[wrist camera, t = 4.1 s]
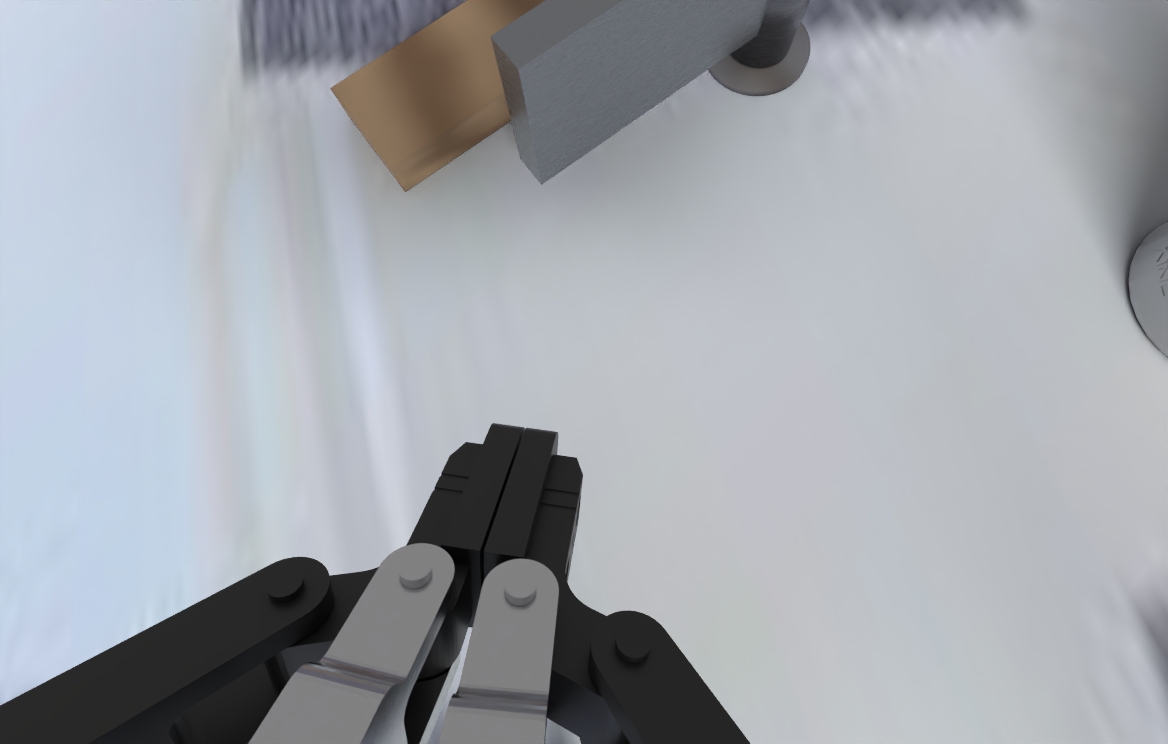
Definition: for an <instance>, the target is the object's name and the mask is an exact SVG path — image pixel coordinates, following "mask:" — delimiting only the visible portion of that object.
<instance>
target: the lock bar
mask: <svg viewBox="0 0 1168 744" xmlns="http://www.w3.org/2000/svg"><path fill="white" fill-rule="evenodd" d="M809 1H810V0H545V1H544V2H542V3H541V4H539V5H538V6H536V7H534V8H533V9H531V10H530V11H528V12H527V13H525V14H524V15H522V16H521V17H519V18H518V19H516V20H515V21H513V22H512V23H510V24H508V25H507V26H505V27H504V28H502V29H501V30H499V31H498V32H496V33H495V34H493V35H492V36H490V37H491V41H492V45H493V49H494V53H495V57H496V61H497V65H498V69H499V73H500V77H501V81H502V85H503V90H504V94H505V98H506V102H507V106H508V110H509V114H510V118H511V122H512V126H513V130H514V134H515V138H516V142H517V146H518V150H519V154H520V158H521V160H522V161H523V162H524V164H525V165H526V166H527V167H528V169H529V170H530V171H531V172H532V173H533V175H534V176H535V177H536V178H537V180H538V181H539V182H540V183H541V184H543V183H544V182H546V181H547V180H549V179H550V178H552V177H553V176H555V175H556V174H557V173H559V172H560V171H562V170H563V169H565V168H566V167H568V166H569V165H570V164H572V163H573V162H575V161H576V160H578V159H579V158H581V157H582V156H583V155H585V154H586V153H588V152H589V151H591V150H592V149H594V148H595V147H596V146H598V145H599V144H601V143H602V142H604V141H605V140H607V139H608V138H610V137H611V136H612V135H614V134H615V133H617V132H618V131H620V130H621V129H623V128H624V127H625V126H627V125H628V124H630V123H631V122H633V121H634V120H636V119H637V118H638V117H640V116H641V115H643V114H644V113H646V112H647V111H649V110H650V109H651V108H653V107H654V106H656V105H657V104H659V103H660V102H662V101H663V100H664V99H666V98H667V97H669V96H670V95H672V94H673V93H675V92H676V91H677V90H679V89H680V88H682V87H683V86H685V85H686V84H688V83H689V82H690V81H692V80H693V79H695V78H696V77H698V76H699V75H701V74H702V73H703V72H705V71H706V70H708V69H709V68H711V67H712V66H714V65H715V64H717V63H718V62H719V61H721V60H722V59H724V58H725V57H727V56H728V55H730V54H731V56H732V57H733V58H734V59H735V60H736V61H737V62H739V63H740V64H742V65H744V66H747V67H750V68H755V69H763V68H769V67H772V66H774V65H776V64H778V63H780V62H781V61H782V60H783V59H784V58H785V57H786V55H787V54H788V52H789V49H790V47H791V44H792V42H793V40H794V37H795V35H796V32H797V30H798V27H799V25H800V22H801V20H802V18H803V15H804V13H805V10H806V8H807V5H808V3H809Z"/></svg>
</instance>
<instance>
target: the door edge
mask: <svg viewBox="0 0 1168 744" xmlns="http://www.w3.org/2000/svg"><path fill="white" fill-rule="evenodd" d="M544 1H545V0H467V1H465V2H464V3H462V4H461V5H459V6H458V7H456V8H455V9H453V10H451V11H450V12H448V13H447V14H445V15H444V16H442V17H441V18H439V19H437V20H436V21H434V22H433V23H431V24H430V25H428V26H427V27H425V28H423V29H422V30H420V31H419V32H417V33H416V34H414V35H413V36H411V37H409V38H408V39H406V40H405V41H403V42H402V43H400V44H399V45H397V46H395V47H394V48H392V49H391V50H389V51H388V52H386V53H385V54H383V55H381V56H380V57H378V58H377V59H375V60H374V61H372V62H371V63H369V64H367V65H366V66H364V67H363V68H361V69H360V70H358V71H357V72H355V73H353V74H352V75H350V76H349V77H347V78H346V79H344V80H343V81H341V82H339V83H338V84H336V85H335V86H333V87H332V88H330V89H331V90H332V92H333V93H334V95H335V96H336V98H337V99H338V101H339V102H340V104H341V105H342V107H343V108H344V110H345V111H346V113H347V114H348V116H349V117H350V119H351V120H352V121H353V123H354V124H355V125H356V127H357V128H358V129H359V131H360V132H361V133H362V135H363V136H364V137H365V139H366V140H367V141H368V143H369V144H370V145H371V147H372V148H373V149H374V151H375V152H376V153H377V155H378V156H379V157H380V159H381V160H382V161H383V163H384V164H385V165H386V167H387V168H388V169H389V171H390V172H391V173H392V175H393V176H394V177H395V179H396V180H397V181H398V183H399V184H400V185H401V187H402V188H403V189H404V191H405V192H406V191H408V190H409V189H410V188H412V187H413V186H415V185H416V184H418V183H419V182H421V181H422V180H424V179H425V178H427V177H428V176H430V175H431V174H433V173H434V172H436V171H437V170H439V169H440V168H442V167H443V166H445V165H446V164H448V163H449V162H451V161H452V160H454V159H455V158H457V157H458V156H459V155H461V154H462V153H464V152H465V151H467V150H468V149H470V148H471V147H473V146H474V145H476V144H477V143H479V142H480V141H482V140H483V139H485V138H486V137H488V136H489V135H491V134H492V133H494V132H495V131H497V130H498V129H500V128H501V127H503V126H504V125H505V124H507V123H508V122H510V121H511V118H510V114H509V110H508V106H507V102H506V98H505V94H504V90H503V85H502V81H501V77H500V73H499V69H498V65H497V61H496V57H495V53H494V49H493V45H492V41H491V37H490V36H492V35H493V34H495V33H496V32H498V31H499V30H501V29H502V28H504V27H505V26H507V25H508V24H510V23H512V22H513V21H515V20H516V19H518V18H519V17H521V16H522V15H524V14H525V13H527V12H528V11H530V10H531V9H533V8H534V7H536V6H538V5H539V4H541V3H542V2H544ZM809 55H810V40H809V36H808V33H807V31H806V29H805V27H804V25H803V24H802V22H800V25H799V27H798V30H797V32H796V35H795V37H794V40H793V42H792V44H791V47H790V49H789V52H788V54H787V55H786V57H785V58H784V59H783V60H782V61H781V62H780V63H778V64H776V65H774V66H772V67H769V68H763V69H755V68H750V67H747V66H744V65H742V64H740V63H739V62H737V61H736V60H735V59H734V58H733V57H732V56H731V54H730V55H728V56H727V57H725V58H724V59H722V60H721V61H719V62H718V63H717V64H715V65H714V66H712V67H711V68H709V69H708V70H709V72H710V73H711V75H712V76H713V77H714V78H715V79H716V80H717V81H718V82H719V83H720V84H721V85H723V86H724V87H726V88H728V89H730V90H732V91H734V92H736V93H740V94H743V95H749V96H765V95H770V94H774V93H777V92H780V91H782V90H784V89H786V88H787V87H789V86H790V85H792V84H793V83H794V82H795V81H796V80H797V79H798V78H799V77H800V75H801V74H802V72H803V70H804V68H805V66H806V64H807V62H808V59H809Z"/></svg>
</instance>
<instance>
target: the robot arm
mask: <svg viewBox="0 0 1168 744" xmlns="http://www.w3.org/2000/svg"><path fill="white" fill-rule="evenodd" d="M1129 291H1130V299H1131V303H1132V306H1133V308H1134V311H1135V314H1136V317H1137V319H1138V321H1139V323H1140V324H1141V326H1142V328H1143V329H1144V331H1145V333H1146V334H1147V336H1148V337H1149V338H1150V340H1151V341H1152V342H1153V343H1154V344H1155V345H1156V346H1157V347H1158V349H1159V350H1160V351H1161V352H1162V353H1163V354H1165V355H1166V356H1167V357H1168V222H1166V223H1164V224H1162V225H1160V226H1158V227H1157V228H1156V229H1155V230H1154V231H1152V232H1151V233H1150V234H1149V235H1147V236H1146V237H1145V239H1144V240H1143V242H1142V243H1141V244H1140V246H1139V247H1138V249H1137V250H1136V252H1135V255H1134V258H1133V260H1132V263H1131V265H1130V274H1129ZM557 447H558V432H553V431H546V430H539V429H532V428H526V429H525V428H524V427H517V426H509V425H502V424H495V423H493V424H492V425H491V427H490V429H489V431H488V434H487V436H486V438H485V441H484V443H483V444H476V443H469V442H466V443H465V444H463V445H462V446H461V447H460V448H459V449H458V450H456V451H455V452H454V453H453V454H452V455H450V457H449V459H448V461H447V463H446V465H445V467H444V469H443V471H442V475H441V477H439V480H438V482H437V484H436V486H435V490H434V491H433V492H432V494H431V496H430V498H429V500H428V502H427V504H426V506H425V508H424V511H423V513H422V515H421V517H420V519H419V521H418V523H417V525H416V527H415V529H414V531H413V533H412V535H411V537H410V539H409V542H408V543H407V545H406V546H404V547H402V548H399V549H398V550H396V551H394V552H393V553H391V554H390V555H389V556H388V557H387V558H386V559H385V560H384V561H383V562H382V563H381V565H380V566H379V567H378V568H375V569H372V570H368V571H363V572H355V573H348V574H340V575H332V576H329V573H328V571H327V569H326V567H325V566H324V565H323V564H322V563H320V562H319V561H317V560H315V559H312V558H307V557H292V558H287V559H283V560H280V561H277V562H275V563H273V564H271V565H269V566H267V567H265V568H263V569H261V570H259V571H257V572H256V573H254V574H252V575H250V576H248V577H246V578H244V579H242V580H240V581H238V582H236V583H234V584H233V585H231V586H229V587H227V588H225V589H223V590H221V591H219V592H217V593H215V594H213V595H211V596H210V597H208V598H206V599H204V600H202V601H200V602H198V603H196V604H194V605H192V606H190V607H188V608H187V609H185V610H183V611H181V612H179V613H177V614H175V615H173V616H171V617H169V618H167V619H165V620H164V621H162V622H160V623H158V624H156V625H154V626H152V627H150V628H148V629H146V630H144V631H142V632H141V633H139V634H137V635H135V636H133V637H131V638H129V639H127V640H125V641H123V642H121V643H119V644H118V645H116V646H114V647H112V648H110V649H108V650H106V651H104V652H102V653H100V654H98V655H96V656H95V657H93V658H91V659H89V660H87V661H85V662H83V663H81V664H79V665H77V666H75V667H73V668H71V669H70V670H68V671H66V672H64V673H62V674H60V675H58V676H56V677H54V678H52V679H50V680H48V681H47V682H45V683H43V684H41V685H39V686H37V687H35V688H33V689H31V690H29V691H27V692H25V693H24V694H22V695H20V696H18V697H16V698H14V699H12V700H10V701H8V702H6V703H4V704H2V705H1V706H0V744H427V743H428V741H429V738H430V736H431V733H432V731H433V728H434V726H435V723H436V721H437V718H438V716H439V713H440V711H441V708H442V706H443V703H444V701H445V698H446V696H447V693H448V691H449V688H450V686H451V683H452V681H453V678H454V676H455V673H456V671H457V668H458V665H459V662H460V651H461V648H462V645H463V642H464V639H465V635H466V632H467V629H468V627H473V628H472V633H471V637H470V641H469V646H468V650H467V654H466V659H465V663H464V667H463V671H462V676H461V680H460V684H459V687H458V690H457V692H456V694H453V695H452V697H451V699H450V702H449V705H448V708H447V712H446V716H445V720H444V724H443V728H442V732H441V736H440V740H439V744H545V738H546V728H547V718H548V719H550V720H552V721H553V722H555V723H557V724H559V725H560V726H562V727H564V728H565V729H567V730H569V731H570V732H572V733H574V734H575V735H577V736H579V737H580V741H581V744H750V742H749V741H748V740H747V738H746V737H745V736H744V734H743V733H742V732H741V730H740V729H739V728H738V726H737V725H736V724H735V722H734V721H733V720H732V718H731V717H730V716H729V714H728V713H727V712H726V710H725V709H724V708H723V706H722V705H721V704H720V702H719V701H718V700H717V698H716V697H715V696H714V694H713V693H712V692H711V690H710V689H709V688H708V686H707V685H706V684H705V682H704V681H703V680H702V678H701V677H700V676H699V674H698V673H697V672H696V670H695V669H694V668H693V666H692V665H691V664H690V662H689V661H688V660H687V658H686V657H685V656H684V654H683V653H682V652H681V650H680V649H679V648H678V646H677V645H676V644H675V642H674V641H673V640H672V638H671V637H670V636H669V634H668V633H667V632H666V630H665V629H664V628H663V627H662V626H661V625H660V624H659V623H658V622H657V621H656V620H654V619H653V618H651V617H650V616H648V615H645V614H643V613H640V612H636V611H620V612H615V613H613V614H610V615H608V616H605V615H603V614H601V613H599V612H597V611H595V610H593V609H591V608H589V607H588V606H586V605H584V604H583V603H582V602H581V601H579V600H578V599H577V598H576V597H575V595H574V594H573V593H572V591H571V590H570V588H569V586H568V583H567V581H568V576H569V570H570V564H571V558H572V553H573V548H574V541H575V536H576V531H577V525H578V518H579V508H580V499H581V489H582V479H583V474H582V471H581V468H580V466H579V463H578V460H577V458H574V457H567V456H560V455H557Z"/></svg>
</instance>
